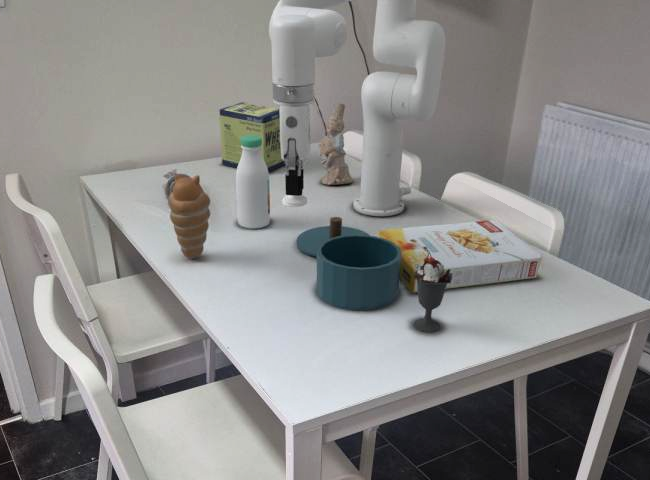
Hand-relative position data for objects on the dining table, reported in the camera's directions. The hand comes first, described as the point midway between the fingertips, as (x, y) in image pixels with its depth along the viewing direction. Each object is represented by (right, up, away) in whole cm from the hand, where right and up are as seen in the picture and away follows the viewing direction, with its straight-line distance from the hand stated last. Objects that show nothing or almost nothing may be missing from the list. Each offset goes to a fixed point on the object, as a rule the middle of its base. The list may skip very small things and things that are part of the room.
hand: (294, 191), depth 139 cm
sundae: (+24, -27, -9) cm, 37 cm away
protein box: (-13, +26, +67) cm, 73 cm away
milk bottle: (-10, +1, +31) cm, 33 cm away
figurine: (+10, +17, +56) cm, 59 cm away
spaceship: (-29, +7, +40) cm, 50 cm away
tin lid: (+9, -6, +20) cm, 23 cm away
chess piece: (0, -2, +1) cm, 2 cm away
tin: (+12, -19, +2) cm, 23 cm away
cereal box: (+34, -13, +12) cm, 38 cm away
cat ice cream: (-22, -10, +15) cm, 28 cm away
